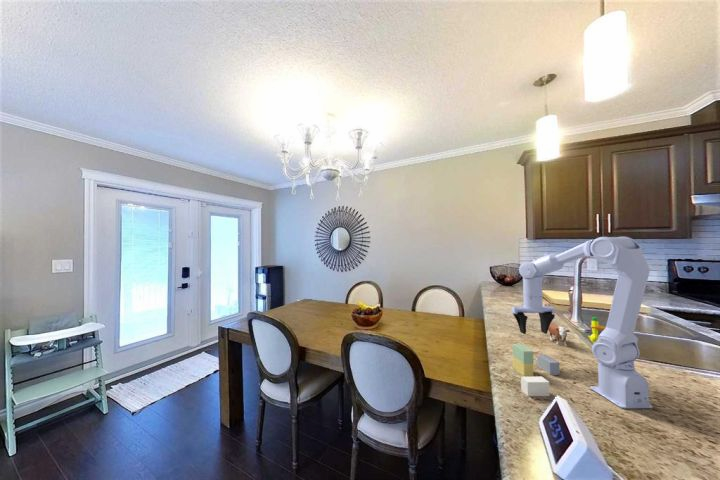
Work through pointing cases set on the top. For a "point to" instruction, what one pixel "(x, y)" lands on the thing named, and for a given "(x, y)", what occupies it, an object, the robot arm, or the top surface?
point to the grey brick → (548, 364)
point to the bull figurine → (557, 333)
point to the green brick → (523, 353)
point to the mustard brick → (523, 368)
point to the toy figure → (595, 330)
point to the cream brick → (535, 386)
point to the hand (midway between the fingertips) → (533, 332)
